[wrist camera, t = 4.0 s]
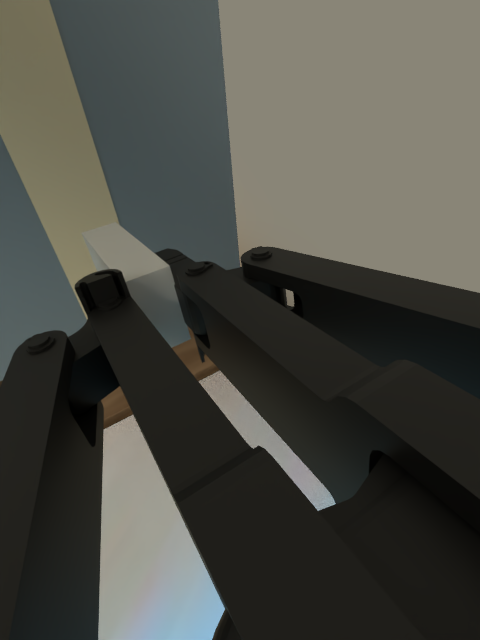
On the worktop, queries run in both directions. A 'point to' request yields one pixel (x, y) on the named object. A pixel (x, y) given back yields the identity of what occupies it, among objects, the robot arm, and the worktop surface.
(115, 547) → the worktop surface
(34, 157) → the lid
